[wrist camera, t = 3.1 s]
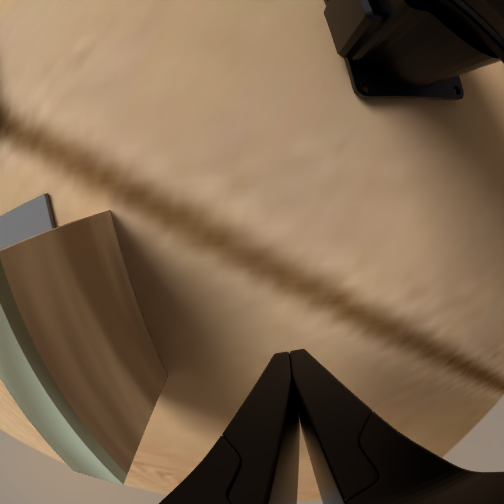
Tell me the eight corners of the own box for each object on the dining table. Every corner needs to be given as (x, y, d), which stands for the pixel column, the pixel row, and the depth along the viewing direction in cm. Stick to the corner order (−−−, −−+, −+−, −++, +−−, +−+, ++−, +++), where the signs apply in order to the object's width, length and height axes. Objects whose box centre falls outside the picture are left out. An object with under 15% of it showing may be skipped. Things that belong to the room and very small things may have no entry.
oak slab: (110, 209, 13) (-16, 257, 5) (167, 375, 15) (123, 484, 8) (68, 223, 13) (-47, 272, 5) (126, 376, 16) (73, 470, 8)
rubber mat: (47, 193, 12) (44, 194, 12) (126, 398, 16) (124, 401, 16) (-26, 232, 13) (-29, 233, 13) (39, 388, 17) (37, 390, 17)
